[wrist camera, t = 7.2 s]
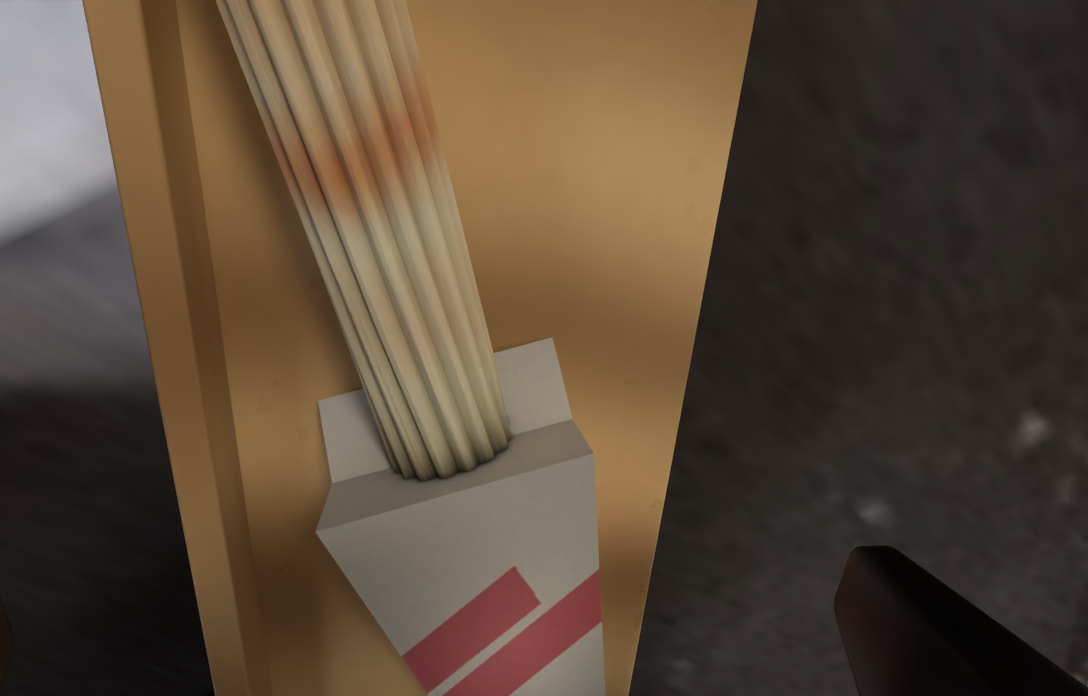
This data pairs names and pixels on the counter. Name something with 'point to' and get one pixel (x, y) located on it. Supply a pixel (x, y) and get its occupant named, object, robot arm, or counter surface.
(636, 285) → the shelf
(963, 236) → the counter surface
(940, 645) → the robot arm
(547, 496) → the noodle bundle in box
